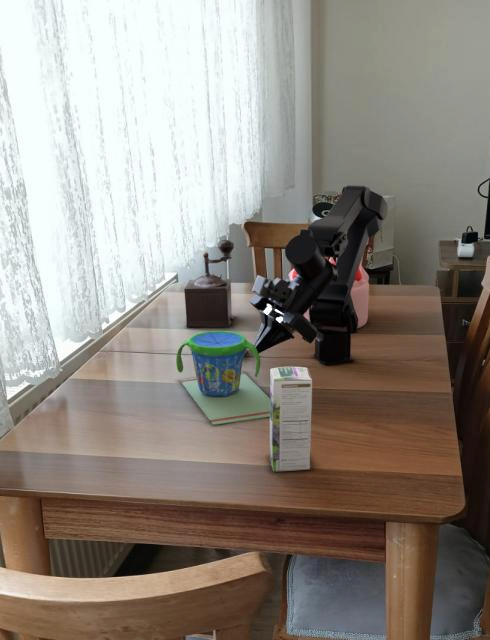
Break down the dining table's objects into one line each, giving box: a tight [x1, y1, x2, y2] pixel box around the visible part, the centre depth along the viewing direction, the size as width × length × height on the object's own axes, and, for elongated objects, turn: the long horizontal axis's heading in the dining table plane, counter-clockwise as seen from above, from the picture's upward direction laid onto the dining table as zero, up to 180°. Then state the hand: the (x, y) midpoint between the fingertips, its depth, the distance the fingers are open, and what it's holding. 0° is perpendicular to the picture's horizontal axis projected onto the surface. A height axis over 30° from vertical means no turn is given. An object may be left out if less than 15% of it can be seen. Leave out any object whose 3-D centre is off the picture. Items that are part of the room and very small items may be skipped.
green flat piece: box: [179, 370, 270, 426], centre depth 144 cm, size 13×24×1 cm, turn 18°
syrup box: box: [269, 366, 313, 473], centre depth 115 cm, size 6×6×14 cm
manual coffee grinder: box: [184, 239, 235, 329], centre depth 188 cm, size 16×11×18 cm
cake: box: [288, 257, 370, 329], centre depth 184 cm, size 20×20×14 cm
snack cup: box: [175, 330, 261, 396], centre depth 144 cm, size 16×10×10 cm
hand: (253, 352), depth 146 cm, fingers closed
